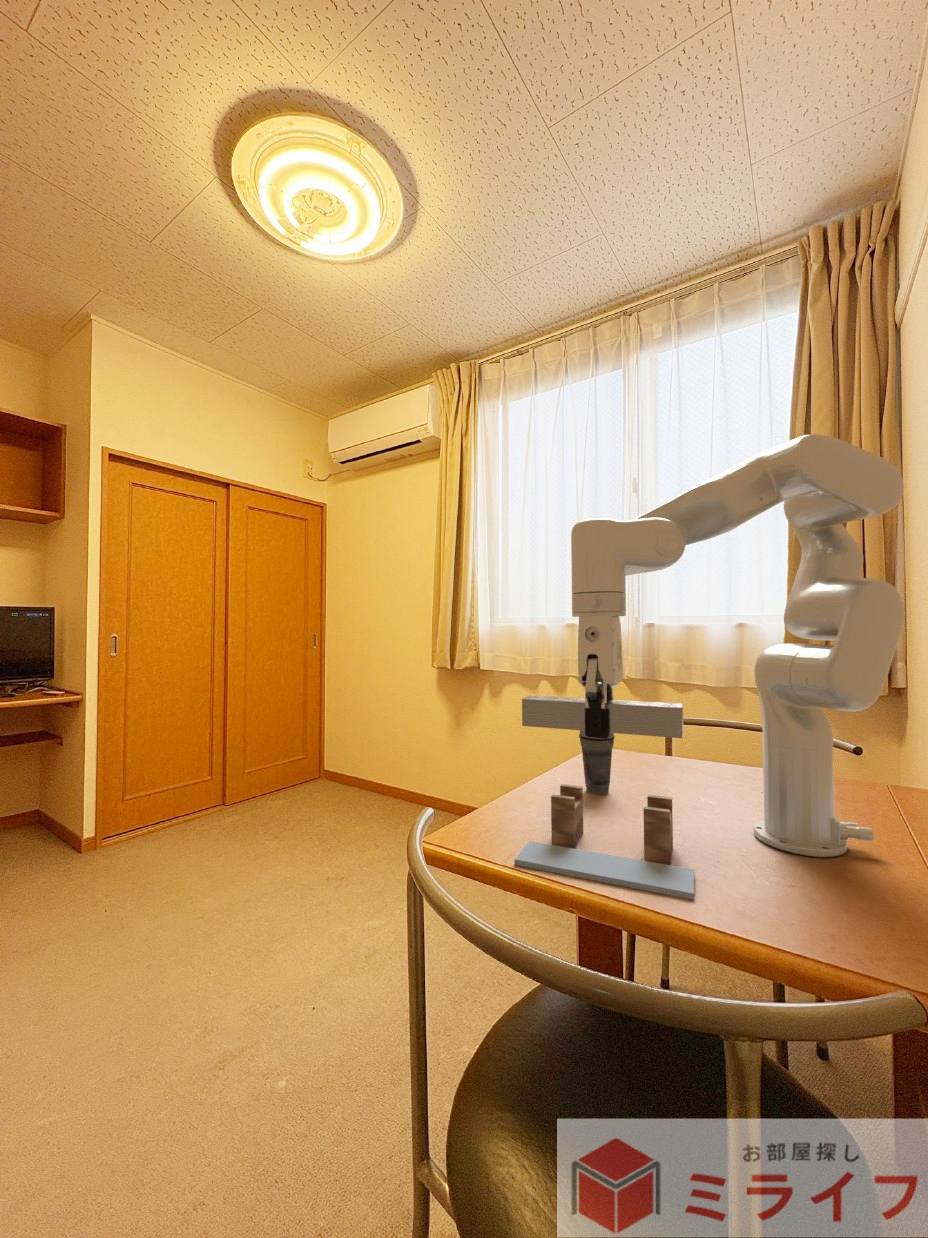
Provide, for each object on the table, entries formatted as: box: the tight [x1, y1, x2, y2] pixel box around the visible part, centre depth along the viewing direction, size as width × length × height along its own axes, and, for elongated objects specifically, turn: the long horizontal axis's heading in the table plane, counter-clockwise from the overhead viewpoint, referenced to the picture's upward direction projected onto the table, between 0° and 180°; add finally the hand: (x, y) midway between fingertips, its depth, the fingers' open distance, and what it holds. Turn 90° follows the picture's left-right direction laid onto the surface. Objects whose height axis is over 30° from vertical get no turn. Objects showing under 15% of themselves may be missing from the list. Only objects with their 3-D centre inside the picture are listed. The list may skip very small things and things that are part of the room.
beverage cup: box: [578, 730, 616, 796], centre depth 108 cm, size 7×7×20 cm
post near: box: [643, 794, 674, 866], centre depth 79 cm, size 4×7×8 cm, turn 155°
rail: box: [521, 695, 684, 739], centre depth 74 cm, size 22×4×4 cm, turn 65°
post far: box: [550, 783, 584, 849], centre depth 84 cm, size 4×7×8 cm, turn 155°
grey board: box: [514, 840, 695, 901], centre depth 74 cm, size 24×7×1 cm, turn 65°
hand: (600, 732), depth 74 cm, fingers closed on rail, 4 cm apart
